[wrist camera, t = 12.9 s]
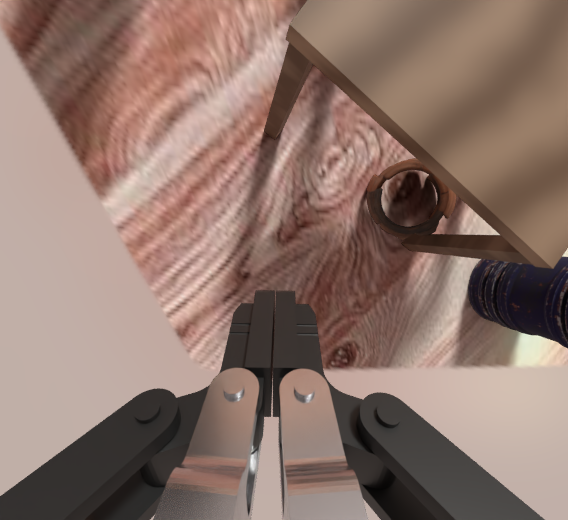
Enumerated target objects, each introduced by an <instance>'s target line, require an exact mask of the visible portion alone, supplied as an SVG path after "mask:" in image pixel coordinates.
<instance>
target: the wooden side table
mask: <svg viewBox="0 0 568 520" xmlns="http://www.w3.org/2000/svg"><path fill="white" fill-rule="evenodd" d="M286 40H287V41H288V42H289V45H288V48H287V52H286V55H285V59H284V62H283V66H282V69H281V73H280V76H279V80H278V83H277V87H276V90H275V94H274V97H273V101H272V104H271V108H270V111H269V115H268V118H267V122H266V125H265V129H264V132H265V133H267V134H268V135H269V136H270V137H272V138H273V139H274V140H275V139H276V138H277V136H278V135H279V134H280V132H281V131H282V130H283V128H284V125H285V123H286V121H287V119H288V117H289V115H290V113H291V110H292V108H293V106H294V104H295V102H296V100H297V98H298V95H299V93H300V91H301V89H302V87H303V85H304V83H305V80H306V78H307V76H308V74H309V72H310V70H311V68H312V65H313V64H314V65H315V66H316V67H317V68H318V69H319V70H320V71H321V72H322V73H323V74H325V75H326V76H327V77H328V78H329V79H330V80H331V81H332V82H333V83H334V84H336V85H337V86H338V87H339V88H340V89H341V90H342V91H343V92H344V93H345V94H347V95H348V96H349V97H350V98H351V99H352V100H353V101H354V102H355V103H356V104H357V105H359V106H360V107H361V108H362V109H363V110H364V111H365V112H366V113H367V114H368V115H370V116H371V117H372V118H373V119H374V120H375V121H376V122H377V123H378V124H379V125H380V126H382V127H383V128H384V129H385V130H386V131H387V132H388V133H389V134H390V135H391V136H393V137H394V138H395V139H396V140H397V141H398V142H399V143H400V144H401V145H402V146H404V147H405V148H406V149H407V150H408V151H409V152H410V153H411V154H412V155H413V156H414V157H416V158H417V159H418V160H419V161H420V162H421V163H422V164H423V165H424V166H425V167H427V168H428V169H429V170H430V171H431V172H432V173H433V174H434V175H435V176H436V177H437V178H439V179H440V180H441V181H442V182H443V183H444V184H445V185H446V186H447V187H448V188H450V189H451V190H452V191H453V192H454V193H455V194H456V195H457V196H458V197H459V198H461V199H462V200H463V201H464V202H465V203H466V204H467V205H468V206H469V207H470V208H471V209H473V210H474V211H475V212H476V213H477V214H478V215H479V216H480V217H481V218H482V219H484V220H485V221H486V222H487V223H488V224H489V225H490V226H491V227H492V228H493V229H494V230H496V231H497V232H498V233H499V234H500V235H447V234H430V235H423V236H420V235H417V234H411V235H410V236H409V237H407V238H406V239H404V241H403V242H402V243H401V244H402V245H404V246H405V247H406V248H407V249H408V250H410V251H417V252H425V253H434V254H443V255H452V256H461V257H470V258H478V259H487V260H496V261H505V262H514V263H522V264H531V265H534V266H535V267H542V268H551V269H553V268H554V267H555V265H556V264H557V262H558V261H559V260H560V258H561V257H562V255H563V254H564V252H565V251H566V250H567V248H568V0H307V1H306V3H305V4H304V5H303V7H302V8H301V10H300V11H299V12H298V14H297V15H296V16H295V18H294V19H293V21H292V22H291V23H290V25H289V29H288V33H287V37H286Z"/></svg>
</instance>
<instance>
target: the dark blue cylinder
mask: <svg viewBox="0 0 568 520" xmlns="http://www.w3.org/2000/svg"><path fill="white" fill-rule="evenodd" d="M468 295H469V300H470V303H471V305H472V307H473V309H474V310H475V311H476V313H477V314H479V315H480V316H481V317H483V318H485V319H487V320H490V321H494V322H496V323H498V324H500V325H502V326H504V327H507V328H510V329H513V330H517V331H519V332H521V333H525V334H529V335H539V336H541V337H544V338H547V339H550V340H553V341H556V342H558V343H559V344H561V345H562V346H564V347H566V348H568V257H561V258H560V260H559V261H558V262H557V264H556V265H555V267H554V268H553V269H551V268H542V267H535V266H534V265H531V264H522V263H514V262H505V261H496V260H487V259H481V260H480V261H479V262H478V264H477V265H476V266H475V268H474V270H473V271H472V274H471V276H470V280H469V285H468Z"/></svg>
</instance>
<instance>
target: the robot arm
mask: <svg viewBox="0 0 568 520" xmlns="http://www.w3.org/2000/svg"><path fill="white" fill-rule="evenodd" d="M274 327H275V330H274ZM272 378H273V417H279V463H280V482H281V499H282V500H281V501H282V519H283V520H368V517H367V513H366V509H365V505H364V502H363V499H364V500H365V501H366V502H367V503H368V505H369V506H370V507H371V508H372V509H373V511H374V512H375V513H376V514H377V515H378V517H379V518H380V519H381V520H544V519H543V518H542V517H540V515H538V514H537V513H536V512H535V511H534V510H532V509H531V508H530V507H529V506H528V505H526V504H525V503H524V502H523V501H522V500H520V499H519V498H518V497H517V496H515V495H514V494H513V493H512V492H511V491H509V490H508V489H507V488H506V487H504V485H502V484H501V483H500V482H499V481H498V480H496V479H495V478H494V477H493V476H491V475H490V474H489V473H488V472H486V471H485V470H484V469H483V468H482V467H481V466H479V465H478V464H477V463H476V462H475V461H473V460H472V459H471V458H470V457H469V456H467V455H466V454H465V453H464V452H463V451H461V450H460V449H459V448H458V447H457V446H455V445H454V444H453V443H452V442H451V441H449V440H448V439H447V438H446V437H445V436H443V435H442V434H441V433H440V432H438V431H437V430H436V429H435V428H434V427H433V426H431V425H430V424H429V423H428V422H427V421H425V420H424V419H423V418H422V417H421V416H419V415H418V414H417V413H416V412H414V411H413V410H412V409H411V408H410V407H408V406H407V405H406V404H405V403H404V402H402V401H401V400H400V399H398V398H396V397H395V396H392V395H390V394H387V393H373V394H370V395H368V396H367V397H365V398H364V400H362V399H359V398H356V397H353V396H350V395H347V394H344V393H342V392H340V391H338V390H337V389H335V388H334V387H333V386H332V385H331V384H330V383H329V382H328V381H327V379H326V377H325V375H324V372H323V366H322V359H321V352H320V344H319V337H318V330H317V323H316V316H315V313H314V311H313V310H312V309H311V307H310V306H309V304H296V303H295V291H276V307H275V291H267V290H256V292H255V299H254V304H249V303H241V305H240V306H239V307H238V308H237V309H236V311H235V312H234V314H233V319H232V323H231V327H230V332H229V336H228V341H227V345H226V349H225V354H224V358H223V362H222V367H221V370H220V373H219V374H218V375H217V376H216V377H215V378H214V379H213V381H212V382H211V384H210V385H209V386H208V387H206V388H204V389H203V390H201V391H198V392H195V393H192V394H188V395H185V396H181V397H178V398H176V397H175V395H174V394H173V393H172V392H170V391H168V390H165V389H152V390H148V391H146V392H143V393H141V394H139V395H138V396H136V397H135V398H133V399H132V400H131V401H129V402H128V403H126V404H125V405H124V406H122V407H121V408H120V409H118V410H117V411H116V412H114V413H113V414H112V415H110V416H109V417H107V418H106V419H105V420H103V421H102V422H101V423H99V424H98V425H97V426H95V427H94V428H92V429H91V430H90V431H88V432H87V433H86V434H85V435H83V436H82V437H80V438H79V439H78V440H76V441H75V442H73V443H72V444H71V445H69V446H68V447H67V448H65V449H64V450H63V451H61V452H60V453H58V454H57V455H56V456H54V457H53V458H52V459H50V460H49V461H48V462H46V463H45V464H44V465H42V466H41V467H39V468H38V469H37V470H35V471H34V472H33V473H31V474H30V475H29V476H27V477H26V478H25V479H23V480H22V481H20V482H19V483H18V484H16V485H15V486H14V487H13V488H11V489H10V490H8V491H7V492H6V493H4V494H3V495H1V496H0V520H150V519H151V518H152V517H153V516H154V515H155V516H154V519H153V520H251V515H252V508H253V500H254V493H255V486H256V478H257V471H258V464H259V456H260V449H261V440H262V437H263V427H264V417H271V400H272ZM155 513H156V514H155Z"/></svg>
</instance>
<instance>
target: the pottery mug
mask: <svg viewBox="0 0 568 520" xmlns="http://www.w3.org/2000/svg"><path fill="white" fill-rule="evenodd" d="M407 170H419V171H423V172H425V173H427V174H429V176H427V178H428V179H429V180H430V181H431V182H432V184H433V185H434V187H435V189H436V192H437V205H436V207H435V209H434V211H433V213H432V215H431V216H430V217H429V220H427V221H426V222H424V223H422V224H420V225H417V226H412V227H405V226H400V225H397V224H395V223H394V222H392V221H391V220H390V219H389V218H388V217H387V216H386V215H385V213H384V211H383V208H382V205H381V195H382V190H383V189H382V188H381V187H382V185H383V183H384V182H385V181H386V180H389V179H391V178H392V177H393V176H395V175H396V174H398V173H400V172H403V171H407ZM367 191H368V192H367V193H366V199H367V205H368V208H369V212H370V214H371V216H372V218H373V220H374V222H375V223H376V224H380V227H381V229H382V230H384V231H386V232H388V233H389V234H392V235H394V236H396V237H398V238H399V239H401V240H404V239H406V238H407V237H409V236H410V235H411V234H415V233H416V234H417V235H420V236H423V235H430V234H432V233H434V232H435V231H436V228H437V226H438V224H439V220H440V219H441V218H442V216H443V215H444V216H445V218H446V219H448V218H449V216H450V215H451V214H452V212H453V210H454V207H455V204H456V197H457V195H456V194H455V193H454V192H453V191H452V190H451V189H450V188H448V187H447V186H446V185H445V184H444V183H443V182H442V181H441V180H440V179H439V178H437V177H436V176H435V175H434V174H433V173H432V172H431V171H430V170H429V169H428V168H427V167H425V166H424V165H423V164H422V163H421V162H420V161H419V160H418V159H417V158H414V159H409V160H406V161H401V162H399V163H397V164H395V165H392V166H390V167H389V168H387V169H386V170H384V171H383V172H382V173H381V174H380V175H379V176H377V175H373V177H372V178H371V180H370V182H369V184H368V187H367Z"/></svg>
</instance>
